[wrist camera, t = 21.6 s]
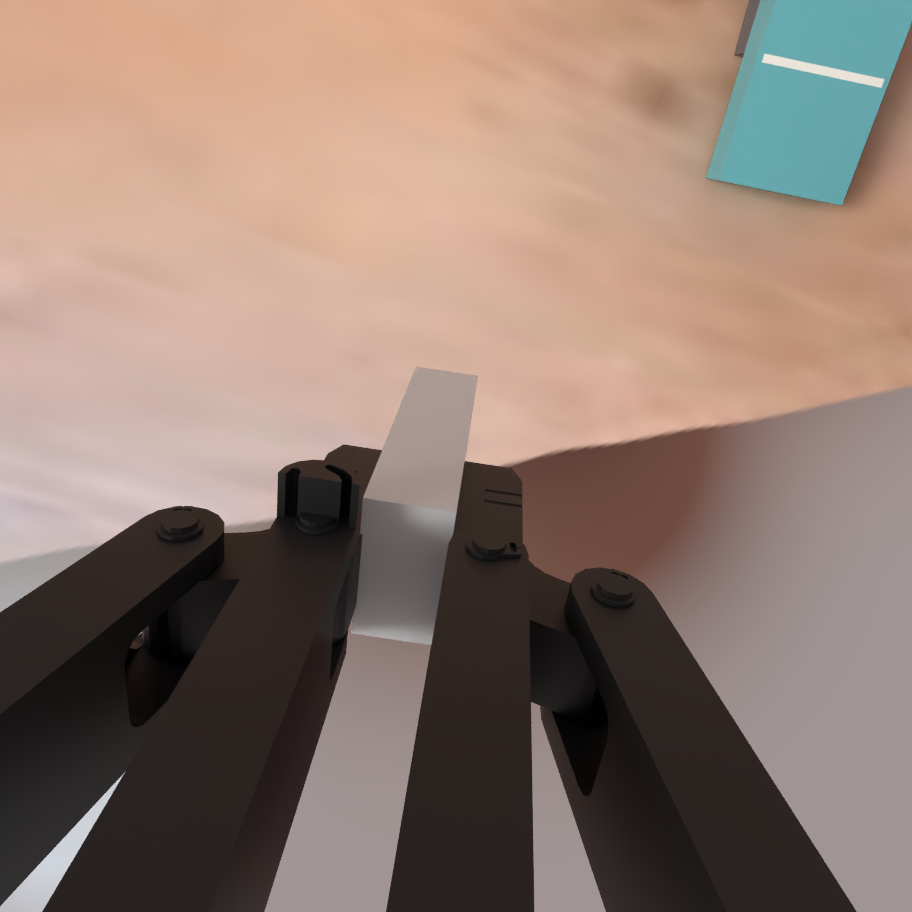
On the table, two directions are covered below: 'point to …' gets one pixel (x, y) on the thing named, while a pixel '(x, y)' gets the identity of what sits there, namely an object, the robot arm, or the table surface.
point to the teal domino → (809, 94)
